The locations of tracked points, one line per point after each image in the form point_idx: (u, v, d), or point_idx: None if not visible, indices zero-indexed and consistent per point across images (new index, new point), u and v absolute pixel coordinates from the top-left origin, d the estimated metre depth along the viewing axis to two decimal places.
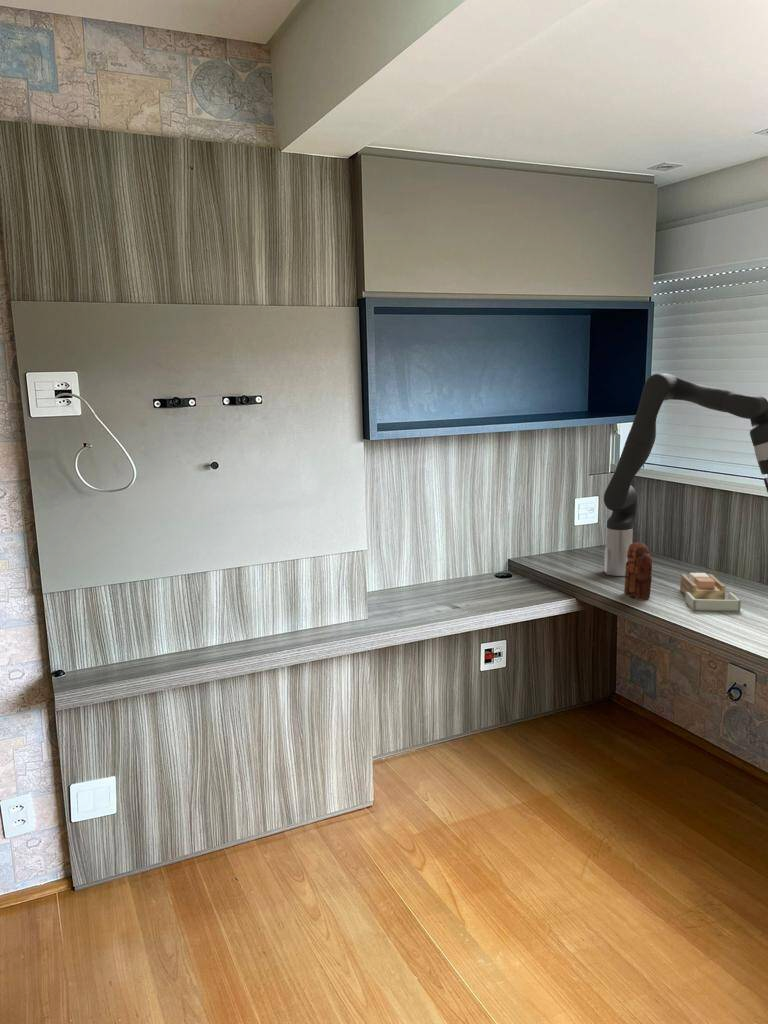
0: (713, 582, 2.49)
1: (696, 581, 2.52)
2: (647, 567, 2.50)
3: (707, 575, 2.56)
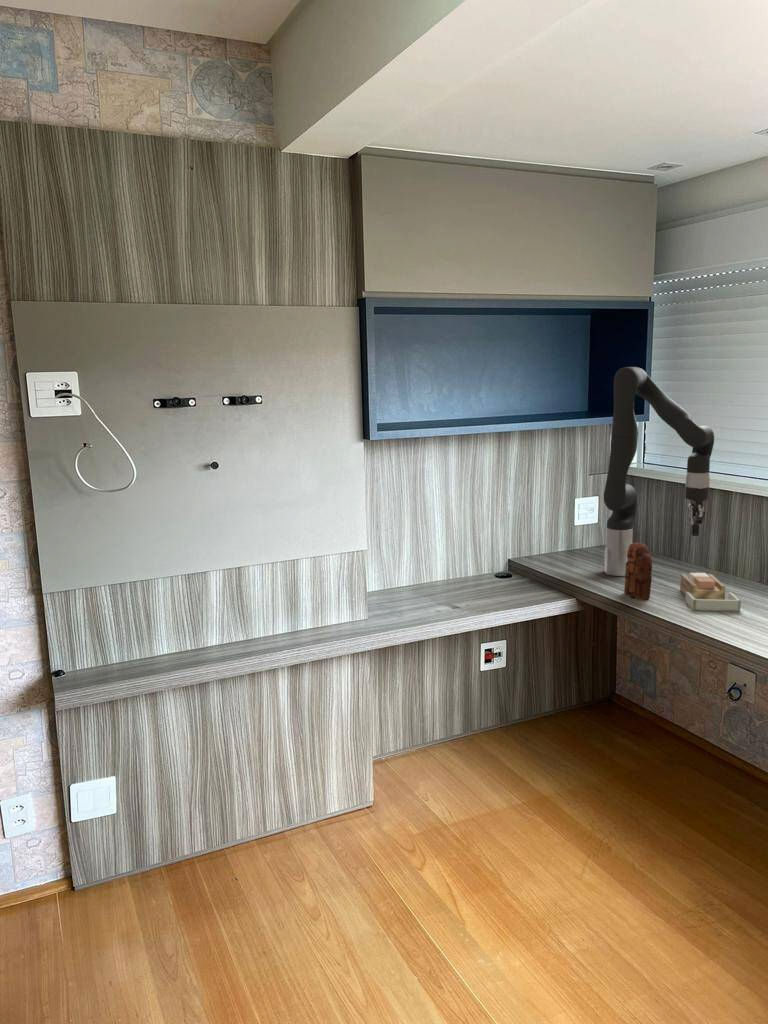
0: (713, 582, 2.49)
1: (696, 581, 2.52)
2: (647, 567, 2.50)
3: (707, 575, 2.56)
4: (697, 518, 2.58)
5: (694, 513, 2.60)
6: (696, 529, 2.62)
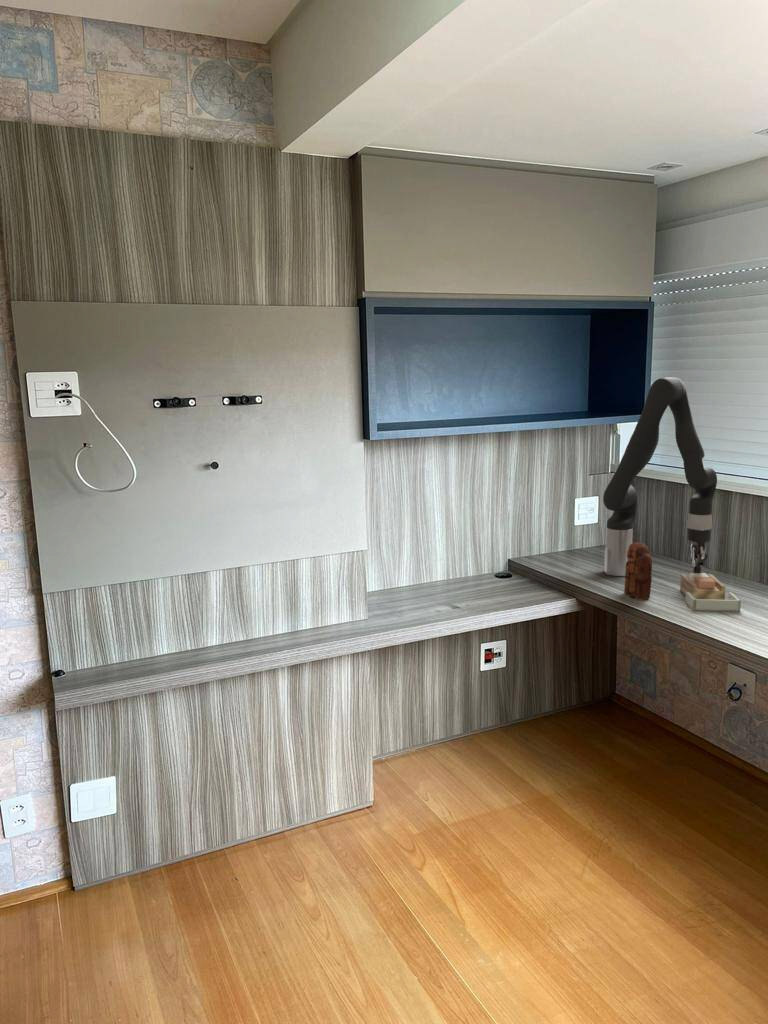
0: (713, 582, 2.49)
1: (696, 581, 2.52)
2: (647, 567, 2.50)
3: (707, 575, 2.56)
4: (699, 560, 2.56)
5: (696, 555, 2.58)
6: (698, 570, 2.60)
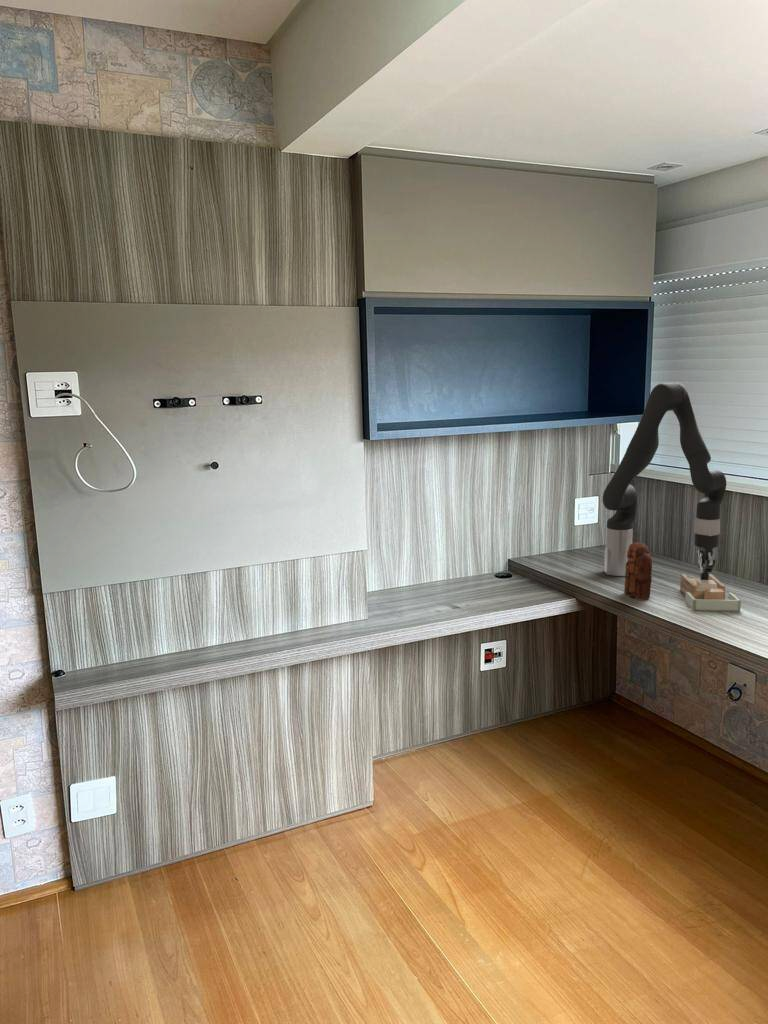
0: None
1: (706, 597, 2.42)
2: (647, 567, 2.50)
3: (714, 582, 2.48)
4: (707, 566, 2.47)
5: (704, 561, 2.50)
6: (705, 577, 2.51)
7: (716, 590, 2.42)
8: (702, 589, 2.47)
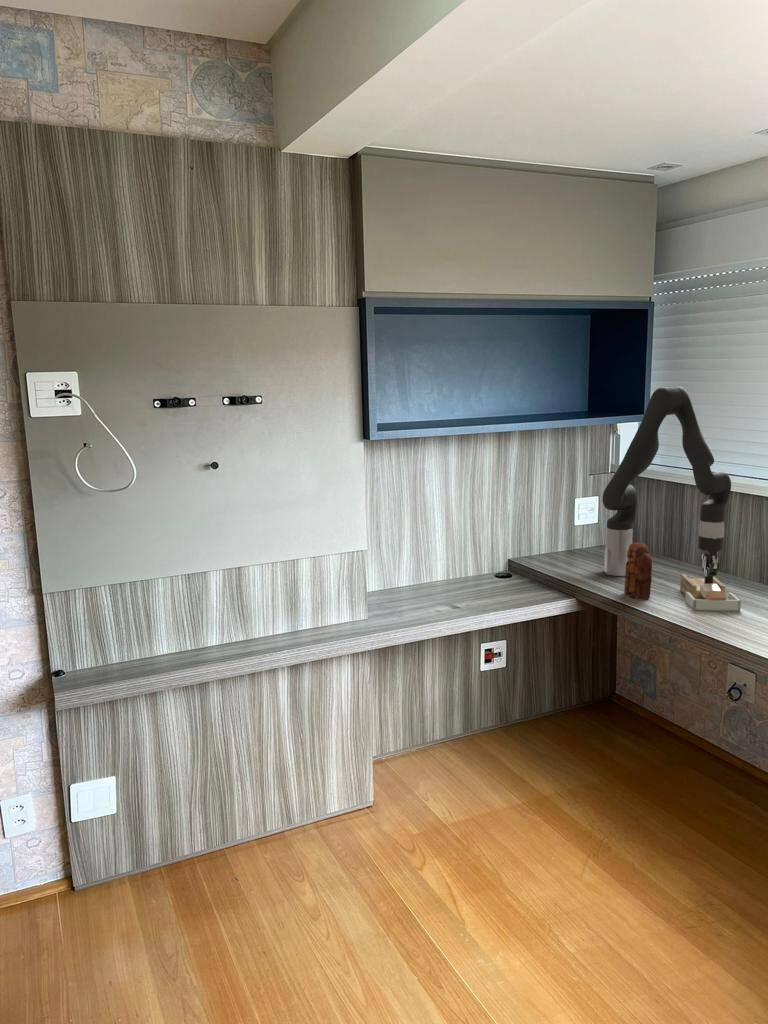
0: None
1: (707, 599, 2.41)
2: (647, 567, 2.50)
3: (718, 588, 2.43)
4: (711, 570, 2.43)
5: (708, 564, 2.45)
6: (710, 581, 2.47)
7: (719, 594, 2.39)
8: None
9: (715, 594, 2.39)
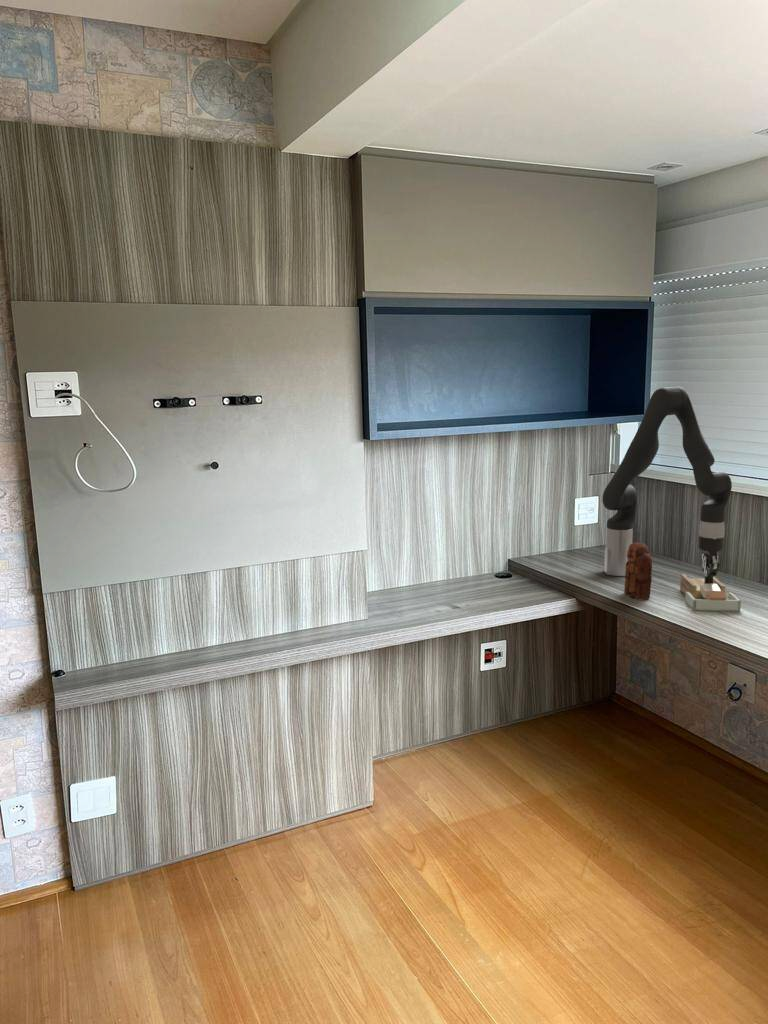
0: None
1: (707, 599, 2.41)
2: (647, 567, 2.50)
3: (718, 588, 2.43)
4: (711, 570, 2.42)
5: (708, 564, 2.45)
6: (710, 581, 2.47)
7: (719, 594, 2.39)
8: None
9: (715, 594, 2.39)
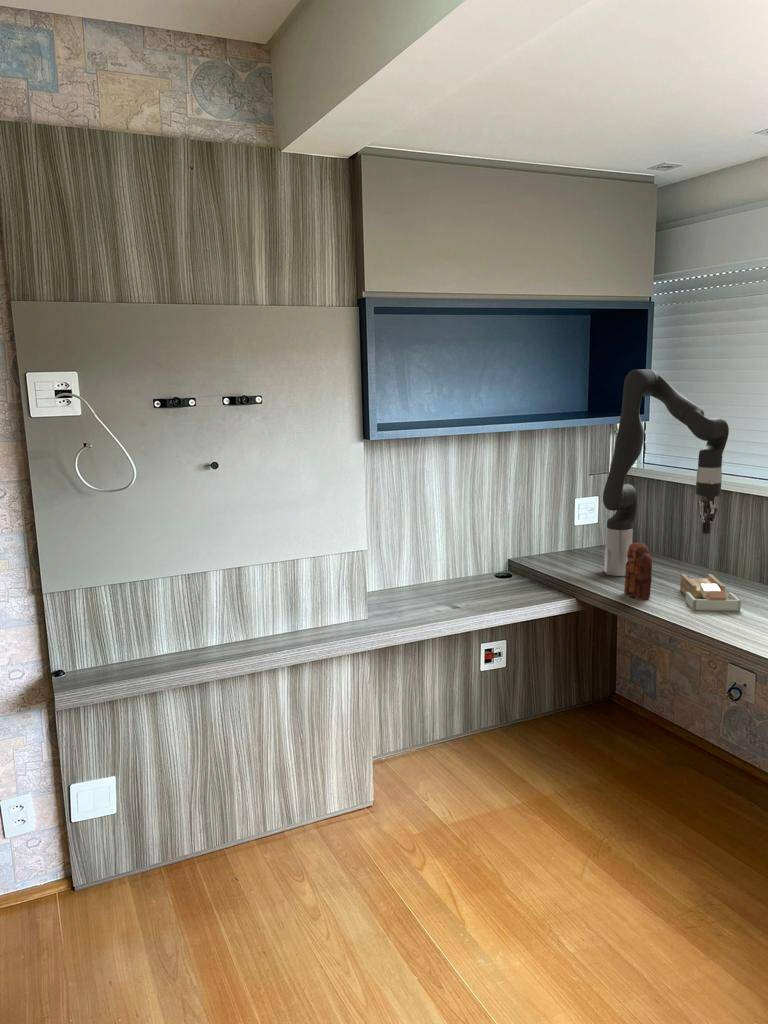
0: None
1: (707, 599, 2.41)
2: (647, 567, 2.50)
3: (718, 588, 2.43)
4: (708, 515, 2.45)
5: (705, 510, 2.48)
6: (707, 526, 2.49)
7: (719, 594, 2.39)
8: None
9: (715, 594, 2.39)
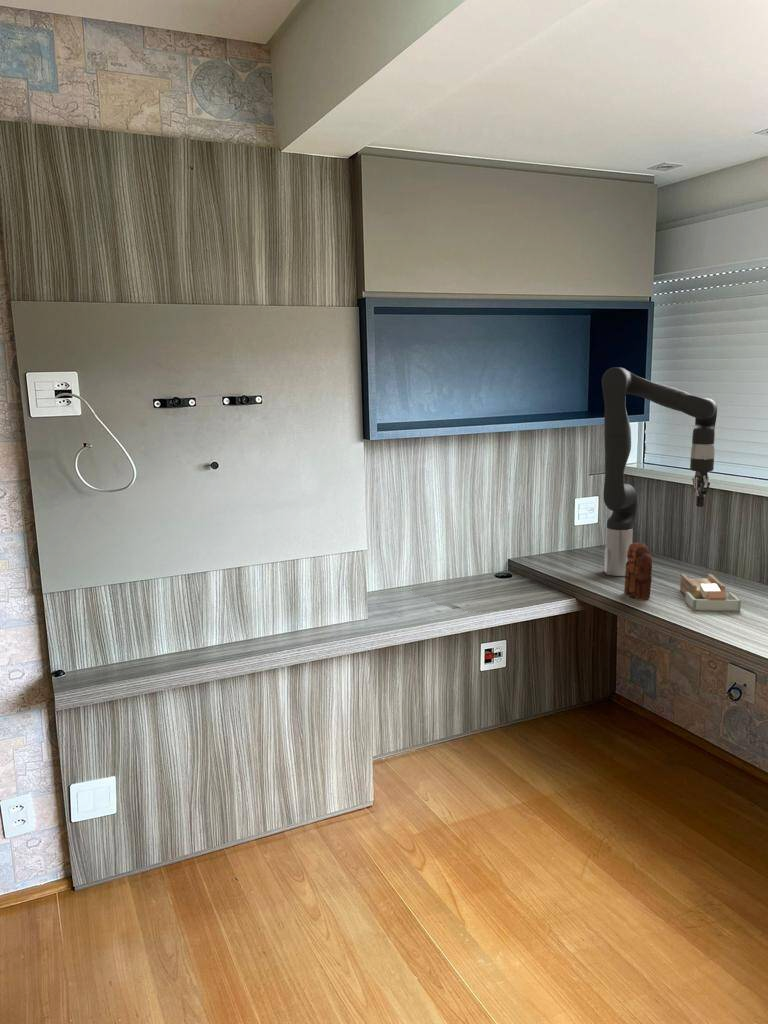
0: None
1: (707, 599, 2.41)
2: (647, 567, 2.50)
3: (718, 588, 2.43)
4: (702, 489, 2.62)
5: (699, 484, 2.65)
6: (701, 500, 2.66)
7: (719, 594, 2.39)
8: (705, 596, 2.43)
9: (715, 594, 2.39)
